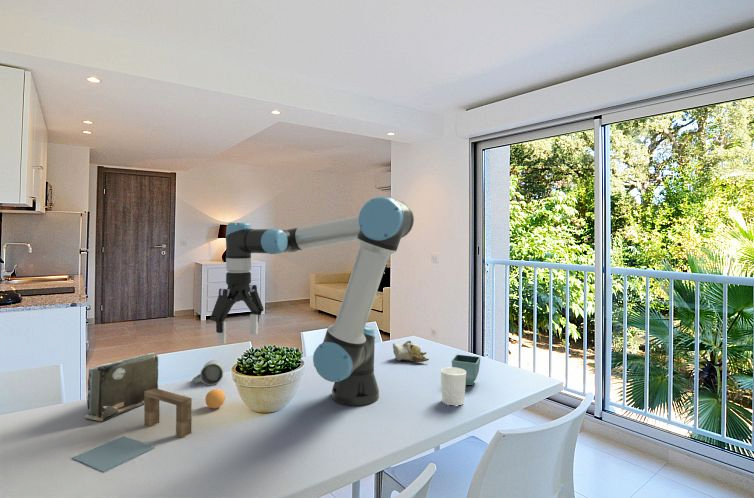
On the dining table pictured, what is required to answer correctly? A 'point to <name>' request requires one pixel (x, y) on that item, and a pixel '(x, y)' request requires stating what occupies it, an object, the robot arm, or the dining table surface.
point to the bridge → (180, 401)
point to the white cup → (453, 385)
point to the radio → (120, 385)
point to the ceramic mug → (210, 373)
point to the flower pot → (467, 366)
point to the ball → (215, 398)
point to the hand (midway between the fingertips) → (238, 338)
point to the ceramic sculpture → (408, 352)
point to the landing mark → (113, 453)
